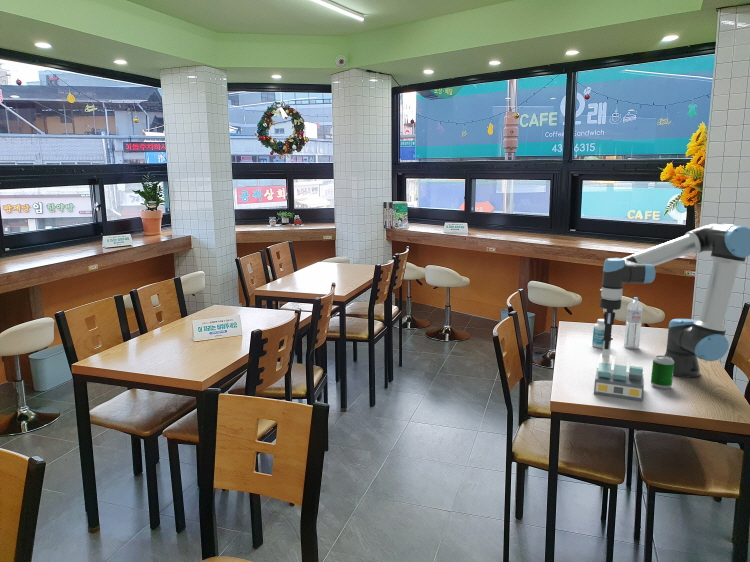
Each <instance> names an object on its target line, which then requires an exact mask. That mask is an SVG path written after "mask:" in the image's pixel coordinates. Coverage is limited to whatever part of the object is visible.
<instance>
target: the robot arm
mask: <svg viewBox="0 0 750 562" xmlns="http://www.w3.org/2000/svg"><path fill="white" fill-rule="evenodd" d="M703 252H711V253H710V258H712V261H713V264H712V266H711V267H712V268H711V271H710V275H709V279H708V282H707V286H706V291H705V294H704V298H703V300H702V301H703V302H702V305H701V309H700V312H699V317H698V319H692V318H674V319H671V320H670V321H669V323H668V327H667V330H668V332H667V338H666V339H667V341H666V350H665V353H664V355H663V356H668V357H671V358H672V359H673V360H674V370H673V377H675V376H676V377H681V378H696V377H699V376H700V374H701V372H700V371H701V369H700V364H699V359H700V360H704V361H706V362H715V361H719V359H722V358H723V357H724V356H725V355H726V354H727V352H728V351H729V347H730V343H729V340H728V339H727V337H726V336H725V335H726V332H727V329H726V327H725V326H724V323H725V319H726V314H727V311H728V309H729V304H730V301H731V297H732V293H733V292H732V291H733V289H734V285H735V281H736V278H737V274H738V270H739V267H740V265H743V264H744V263H746V259H747V257H750V228H749V227H747V226H743V225H740V224H729V223H723V222H715V223H714V222H713V223H710V224H706V225H703V226H700V227H698V228H695V229H692V230H689V231H687V232H685V234H684V235H683V236H680V237H677V238H675V239H672V240H671V239H670V240H669V241H666V242H664V243H660V244H658V245H655V246H651V247H650V248H646V249H644V250H642V251H639V252H636V253H633V254H631V255H627V256H625V257H622V258H621V257H610V258H609V257H608V258H606V259H605V260H604V264H603V268H602V281H601V288H600V289H599V291H600V292H601V293H600V296H601V298H600V303H599V306H600V308H601V309H606V311H603V312H604V313H603V317H604V318H603V319H604V324H605V332H604V339H602V341H603V348H602V351H601V354H602V356H604V357H609V356H610V355H611V345H612V344H611V343H612V341H613V340H614V339H613V338H612V330H613V325H614V324H615V323H614V322H615V318H616V312H615V311H617V310H618V311H619V310H620V309H622V298H623V290H624V289H623V286H624V284H643V285H644V284H651V283H652V282H654V280H655V278H656V269H655V266H659V265H662V264H664V263H666V262H669V261H672V260H675V259H678V258H681V257H684V256H687V255H689V254H699V253H703Z"/></svg>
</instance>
